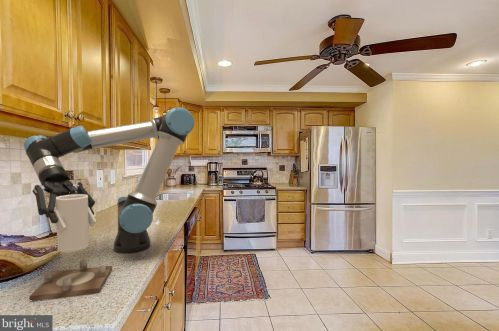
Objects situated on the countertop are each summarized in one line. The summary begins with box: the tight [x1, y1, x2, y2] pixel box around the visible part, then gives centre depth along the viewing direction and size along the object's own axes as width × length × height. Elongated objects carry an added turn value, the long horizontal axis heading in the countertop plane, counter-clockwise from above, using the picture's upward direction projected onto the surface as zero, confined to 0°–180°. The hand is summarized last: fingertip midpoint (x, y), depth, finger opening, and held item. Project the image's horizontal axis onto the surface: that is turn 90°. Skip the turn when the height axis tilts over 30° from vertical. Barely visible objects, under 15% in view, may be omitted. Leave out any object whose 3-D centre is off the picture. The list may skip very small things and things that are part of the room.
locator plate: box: [28, 259, 113, 301], centre depth 82 cm, size 17×17×4 cm
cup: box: [55, 194, 90, 253], centre depth 81 cm, size 8×8×16 cm
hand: (79, 227), depth 80 cm, fingers closed on cup, 8 cm apart
